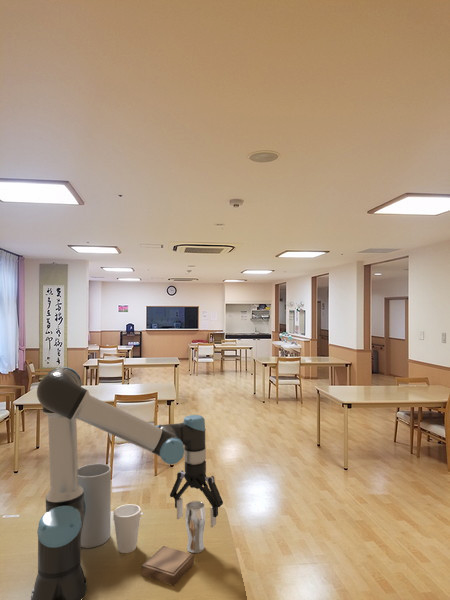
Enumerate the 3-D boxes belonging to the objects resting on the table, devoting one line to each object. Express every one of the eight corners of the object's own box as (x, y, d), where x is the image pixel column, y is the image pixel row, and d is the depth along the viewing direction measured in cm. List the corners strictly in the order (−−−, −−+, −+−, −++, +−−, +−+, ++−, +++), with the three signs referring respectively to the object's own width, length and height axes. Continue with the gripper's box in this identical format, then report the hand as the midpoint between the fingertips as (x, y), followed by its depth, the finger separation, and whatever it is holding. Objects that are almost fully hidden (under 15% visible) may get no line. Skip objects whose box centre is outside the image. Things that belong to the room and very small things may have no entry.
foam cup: (133, 557, 138) (133, 518, 139) (108, 554, 140) (108, 515, 141) (144, 541, 148) (144, 505, 148) (120, 539, 150) (121, 503, 150)
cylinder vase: (69, 538, 150) (69, 469, 151) (101, 526, 159) (101, 461, 159) (82, 553, 141) (83, 480, 142) (116, 539, 149) (116, 470, 150)
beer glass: (208, 544, 146) (207, 501, 146) (201, 555, 139) (201, 511, 140) (189, 541, 148) (189, 499, 148) (182, 552, 141) (182, 508, 141)
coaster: (141, 575, 129) (141, 564, 129) (163, 554, 140) (163, 545, 140) (173, 586, 124) (173, 575, 124) (193, 564, 135) (193, 554, 135)
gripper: (231, 462, 142) (232, 523, 142) (171, 452, 153) (172, 509, 153) (222, 469, 136) (223, 534, 135) (159, 459, 146) (160, 519, 146)
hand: (196, 521), depth 144 cm, fingers open, 13 cm apart
